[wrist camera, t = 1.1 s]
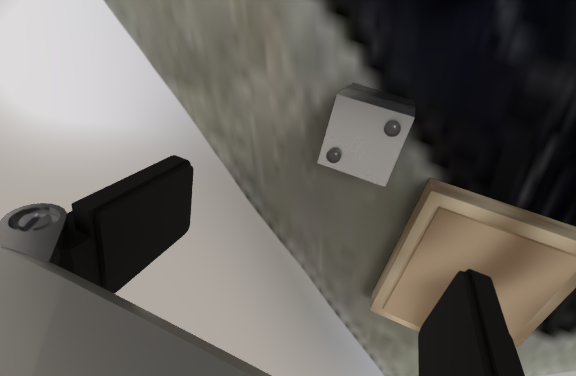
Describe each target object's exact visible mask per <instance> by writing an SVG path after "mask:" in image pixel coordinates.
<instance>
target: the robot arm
mask: <svg viewBox="0 0 576 376" xmlns="http://www.w3.org/2000/svg"><path fill="white" fill-rule="evenodd" d="M192 182H193V167H192V166H191V164H190V162H189V161H188V160H186V159H183V158H181V157H178V156H175V155H174V156H170V157H168V158H166V159H164V160H162V161H160V162H158V163H156V164H153V165H151V166H149V167H147V168H145V169H143V170H141V171H139V172H137V173H135V174H133V175H130V176H129V177H126V178H124V179H122V180H120V181H118V182H116V183H114V184H112V185H110V186H107V187H105V188H104V189H101V190H99V191H97V192H95V193H93V194H91V195H89V196H87V197H85V198H82V199H80V200H78V201H76V202H74V203H72V210H73V211H71V212H69V213H66V211H65V209H64V208H62V207H60V206H58V205H54V204H46V203H40V204H31V205H27V206H23V207H20V208H18V209H15V210H13V211H11V212H10V213H8V214H6V215H5V216H4V217H3V218H2V219H1V221H0V376H271V375H269V374H267V373H265V372H263V371H262V370H260V369H258V368H256V367H254V366H252V365H250V364H248V363H246V362H244V361H242V360H241V359H239V358H237V357H235V356H233V355H231V354H229V353H227V352H225V351H223V350H221V349H219V348H217V347H215V346H214V345H212V344H210V343H208V342H206V341H204V340H202V339H200V338H198V337H196V336H195V335H193V334H191V333H189V332H187V331H185V330H183V329H181V328H179V327H177V326H175V325H173V324H171V323H170V322H168V321H166V320H164V319H162V318H160V317H158V316H156V315H154V314H152V313H150V312H148V311H146V310H144V309H142V308H140V307H138V306H136V305H135V304H133V303H131V302H129V301H127V300H125V299H123V298H121V297H119V296H117V295H115V294H114V293H116V292H117V291H118V290H120V289H121V288H122V287H123V286H124V285H125V284H127V283H128V282H129V281H130V280H131V279H132V278H134V277H135V276H136V275H137V274H138V273H140V272H141V271H142V270H143V269H144V268H145V267H147V266H148V265H149V264H150V263H151V262H153V261H154V260H155V259H156V258H157V257H158V256H160V255H161V254H162V253H163V252H164V251H166V250H167V249H168V248H169V247H170V246H171V245H172V244H174V243H175V242H176V241H177V240H178V239H180V238H181V237H182V236H183V235H184V234H185V233H186V232H187V231H188V229H189V226H190V215H191V199H192V184H193V183H192ZM418 349H419V376H525V375H524V372H523V369H522V366H521V363H520V360H519V357H518V354H517V351H516V348H515V345H514V341H513V339H512V337H511V335H510V334H509V331H508V328H507V325H506V321H505V318H504V315H503V312H502V309H501V306H500V303H499V300H498V297H497V294H496V291H495V288H494V284H493V281H492V279H491V277H489V276H487V275H485V274H482V273H479V272H477V271H474V270H472V269H467V270H466V271H465V272H463V271H459V272H458V273H457V274H456V275H455V277H454V278H453V280H452V281H451V283H450V284H449V286H448V287H447V289H446V290H445V292H444V293H443V295H442V296H441V298H440V299H439V301H438V302H437V304H436V305H435V307H434V308H433V310H432V311H431V313H430V314H429V316H428V317H427V319H426V320H425V322H424V323H423V324H422V326H421V328H420V331H419V336H418Z"/></svg>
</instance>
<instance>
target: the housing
mask: <svg viewBox="0 0 576 376" xmlns="http://www.w3.org/2000/svg"><path fill="white" fill-rule="evenodd" d="M414 118H415V101H414V100H411V99H407V98H404V97H400V96H397V95H393V94H390V93H386V92H383V91H379V90H376V89H372V88H369V87H365V86H362V85H358V84H355V83H352V84H351V85H349V86H348V87H347V88H345V89H344V90H342V91H341V92H339V93H338V94H337V96H336V100H335V103H334V106H333V110H332V113H331V117H330V120H329V124H328V127H327V131H326V134H325V138H324V141H323V145H322V148H321V152H320V155H319V159H318V162H317V163H319V164H321V165H324V166H327V167H330V168H333V169H336V170H338V171H341V172H344V173H347V174H350V175H353V176H355V177H358V178H361V179H364V180H367V181H370V182H372V183H375V184H378V185H381V186H384V187H385V186H386V184H387V182H388V179H389V177H390V175H391V172H392V170H393V167H394V165H395V163H396V160H397V158H398V156H399V153H400V151H401V149H402V146H403V144H404V142H405V139H406V137H407V135H408V132H409V130H410V128H411V125H412V123H413V121H414Z"/></svg>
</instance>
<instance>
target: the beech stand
mask: <svg viewBox="0 0 576 376" xmlns="http://www.w3.org/2000/svg"><path fill="white" fill-rule="evenodd" d="M467 269H472V270H474V271H477V272H479V273H482V274H485V275H487V276H489V277H491V279H492V281H493V284H494V288H495V291H496V294H497V297H498V300H499V303H500V306H501V309H502V312H503V315H504V318H505V321H506V325H507V328H508V331H509V334H510V335H511V337H512V339H513V341H514V345H515V348H517V347H518V346H519V345H520V344H521V343H522V342H523V341H524V340H525V339H526V338H527V337H528V336H529V335H530V334H531V333H532V332H533V331H534V330H535V329H536V328H537V327H538V326H539V325H540V324H541V323H542V322H543V321H544V320H545V319H546V318H547V317H548V315H549V314H550V313H551V312H552V311H553V310H554V309H555V308H556V307H557V306H558V305H559V304H560V303H561V302H562V301H563V300H564V299H565V298H566V297H567V296H568V295H569V294H570V293H571V292H572V291H573V290H574V289H575V288H576V227H575V226H572V225H569V224H566V223H563V222H560V221H557V220H554V219H551V218H548V217H545V216H542V215H539V214H536V213H533V212H530V211H527V210H524V209H521V208H518V207H515V206H512V205H509V204H506V203H503V202H500V201H497V200H494V199H491V198H488V197H485V196H482V195H479V194H476V193H473V192H470V191H468V190H465V189H462V188H459V187H456V186H453V185H450V184H447V183H444V182H441V181H438V180H435V179H432V178H430V179H429V181H428V183H427V185H426V187H425V189H424V191H423V193H422V195H421V197H420V199H419V201H418V203H417V205H416V207H415V209H414V211H413V213H412V215H411V217H410V219H409V221H408V223H407V225H406V227H405V229H404V231H403V233H402V234H401V236H400V238H399V240H398V242H397V244H396V246H395V248H394V250H393V252H392V254H391V256H390V258H389V260H388V262H387V264H386V266H385V268H384V270H383V272H382V274H381V276H380V278H379V280H378V282H377V284H376V286H375V288H374V290H373V292H372V298H371V304H370V310H371V311H373V312H375V313H377V314H380V315H382V316H384V317H386V318H389V319H391V320H393V321H395V322H398V323H400V324H402V325H404V326H407V327H409V328H411V329H413V330H416V331H418V332H419V331H420V328H421V326H422V324H423V323H424V322H425V320H426V319H427V317H428V316H429V314H430V313H431V311H432V310H433V308H434V307H435V305H436V304H437V302H438V301H439V299H440V298H441V296H442V295H443V293H444V292H445V290H446V289H447V287H448V286H449V284H450V283H451V281H452V280H453V278H454V277H455V275H456V274H457V273H458V272H459V271H463V272H465V271H466V270H467Z"/></svg>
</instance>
